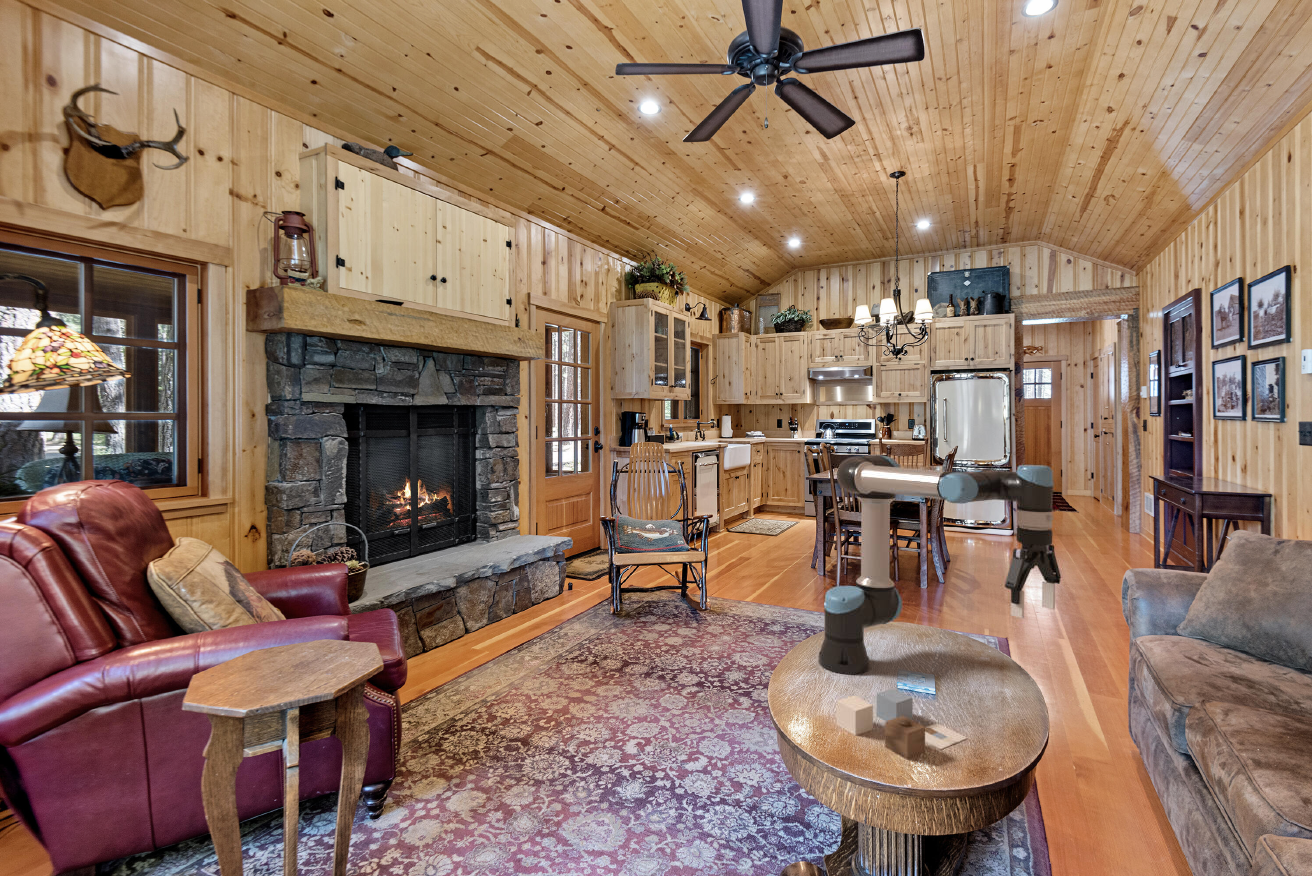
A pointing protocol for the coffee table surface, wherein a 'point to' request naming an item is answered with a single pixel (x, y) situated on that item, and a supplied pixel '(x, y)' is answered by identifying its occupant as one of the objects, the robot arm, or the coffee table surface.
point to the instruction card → (941, 736)
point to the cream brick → (854, 715)
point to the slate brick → (893, 705)
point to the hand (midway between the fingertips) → (1033, 612)
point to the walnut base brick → (905, 737)
